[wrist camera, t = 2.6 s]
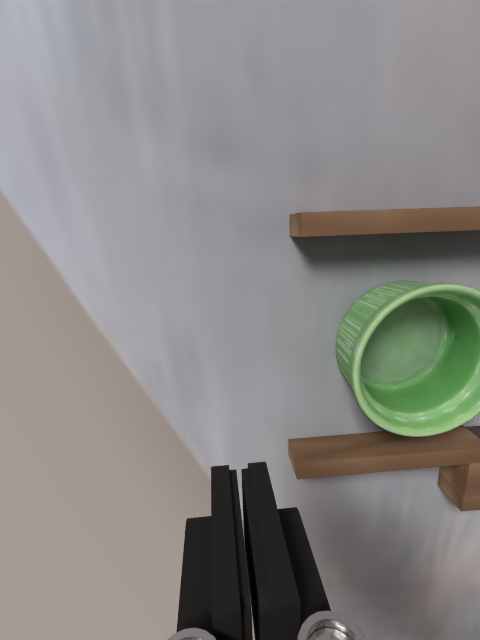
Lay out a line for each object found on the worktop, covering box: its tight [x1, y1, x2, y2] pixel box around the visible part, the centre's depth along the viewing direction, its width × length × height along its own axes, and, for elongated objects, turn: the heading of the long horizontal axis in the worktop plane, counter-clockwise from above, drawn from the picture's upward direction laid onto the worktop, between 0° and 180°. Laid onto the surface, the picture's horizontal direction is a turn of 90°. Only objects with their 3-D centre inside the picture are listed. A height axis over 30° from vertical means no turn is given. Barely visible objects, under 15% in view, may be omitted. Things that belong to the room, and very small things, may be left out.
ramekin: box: [336, 281, 480, 437], centre depth 20 cm, size 9×9×4 cm
